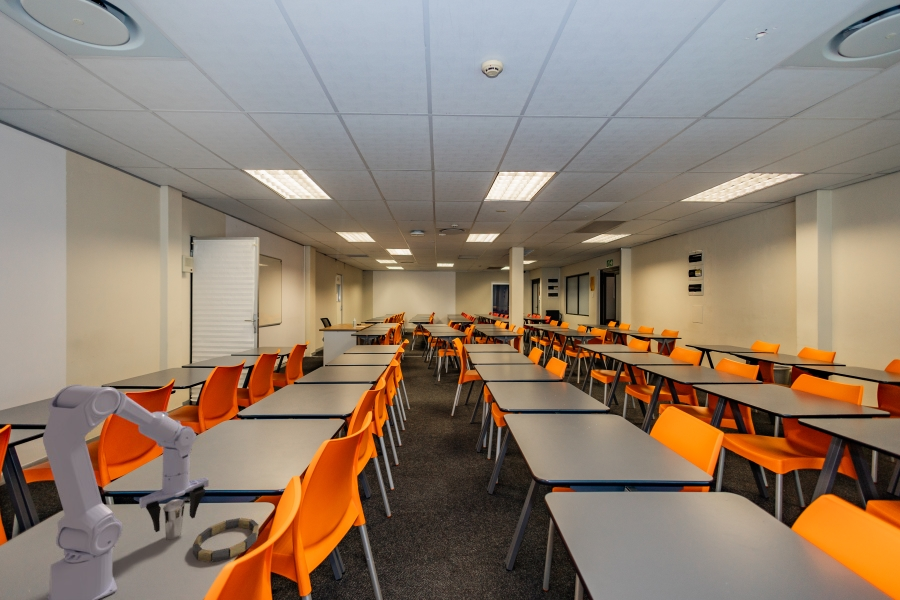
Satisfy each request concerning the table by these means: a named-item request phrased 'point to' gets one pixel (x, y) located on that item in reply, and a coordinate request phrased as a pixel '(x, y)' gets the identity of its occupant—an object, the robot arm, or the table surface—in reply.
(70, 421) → the robot arm
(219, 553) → the ring
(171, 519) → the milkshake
